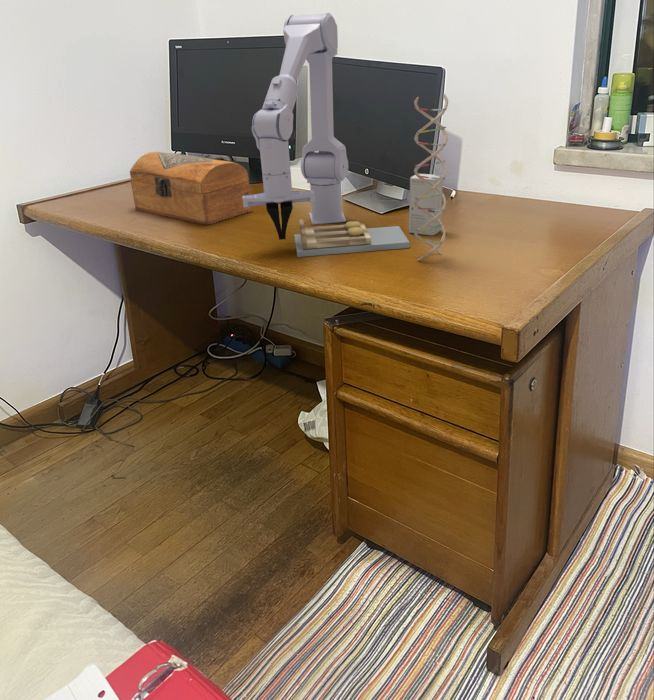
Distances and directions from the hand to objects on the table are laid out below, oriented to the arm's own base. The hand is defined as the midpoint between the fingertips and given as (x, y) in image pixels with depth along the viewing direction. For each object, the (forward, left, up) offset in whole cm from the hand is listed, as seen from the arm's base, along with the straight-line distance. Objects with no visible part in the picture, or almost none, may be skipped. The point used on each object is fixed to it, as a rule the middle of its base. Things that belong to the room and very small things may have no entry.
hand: (282, 238), depth 143 cm
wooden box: (-39, -23, -3) cm, 45 cm away
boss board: (0, +14, -2) cm, 14 cm away
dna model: (+13, +28, -3) cm, 31 cm away
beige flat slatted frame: (0, +11, -1) cm, 11 cm away
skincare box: (-4, +31, -3) cm, 32 cm away
